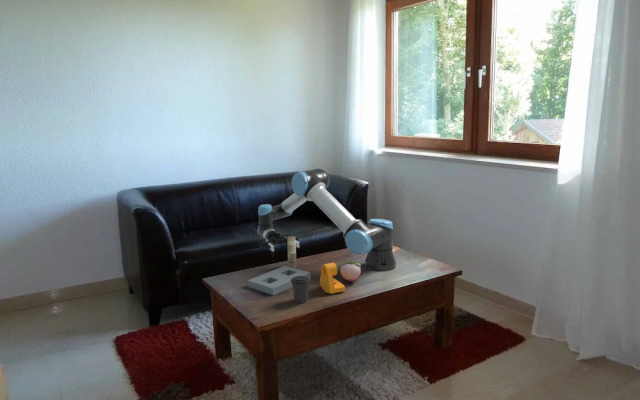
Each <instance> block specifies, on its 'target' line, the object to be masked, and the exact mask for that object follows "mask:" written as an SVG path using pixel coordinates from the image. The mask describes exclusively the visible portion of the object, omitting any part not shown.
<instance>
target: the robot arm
mask: <svg viewBox="0 0 640 400" xmlns="http://www.w3.org/2000/svg"><path fill="white" fill-rule="evenodd" d="M291 178H292V179H291V189H292V190H293V193H292V194H291V195H290V196H288V198H286V199H284V200H283V201H282V202H281V203H280V204H278V205H275V206H274V205H273V206H272V205H271V204H267V203H266V204H261V205H259V206H258V208H257V209H258V211H257V214H258V228H257V231H256V232H257V234H258V236H259V237H260V238H261V239H262V242H261V249H265V250H267V251H268V250H270V251H271V252H273V253H274V252H275V246H276V245H279V244H287V237H290V235H287V234H286V235H285V236H281V234H280V233H279V232H278V231H276V230H275V229H274V227H273V221H275V220H278V219H282V218H287V217H289V216H291V215H293V212H294V211H295V210H296V209H297V208H299V207H300V206H301V205H303V204H305V203H306V202H307V201H309V202H313V203H314V204H315V205H316V206H317V207H318V208H319V209H320V210H321V211H322V212H323V213H324V214H325V215H326V216H327V217H328V218H329V219H330V221H332V222H333V223H334V224H335V226H337V227H338V228H339V230H341V231H342V233H343V238H344V243H345V246H346V248H347V249H348V250H349V251H350V252H351V253H353V254H355V255H362V254H366V258H365V260H364V266H365V267H366V268H367V269H369V270H373V271H390V270H393V269H395V268H396V267H397V260H396V258H395V254H394V250H393V248H394V247H393V243H394V241H393V237H394V236H393V235H394V227H393V225H394V224H393V222H392V221H391V220H389V219H388V220H387V219H382V218H370V219H369V220H368V222H367V224H366V223H365V222H364V221H363V220H362V219H356V218H355V217H354V216H353V214H352V213H350V211H348V210H347V208H345V207H344V206H343V204H341V203H340V202H339V201H338V200H337V198H336V197H334V195H332V193H330V192H329V191H328V190H327V188H329V185H330V183H331V181H330V180H331V179H330V175H329V173H328V172H327V171H325V170H324V169H321V168H314V169H307V170H301V171H299V172H296V173H295V174H294V175H293V176H292V177H291ZM294 237H295V239H296V248H297V249H298V248H299V249H300V237H296V236H294Z"/></svg>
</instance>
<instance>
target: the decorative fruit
mask: <svg viewBox="0 0 640 400" xmlns="http://www.w3.org/2000/svg"><path fill="white" fill-rule="evenodd" d="M339 265H341V266H340V275H341V277H342V278H343V280H345V281H348V282H350V283H351V282H353V281H355V280H357V279H358V278H359V277H360V276H361V273H362V272H361V271H362V270H361V267H362V265H361V264H360V263H358V262H356V261H355V262H353V261H352V260H351V259H350V261H349V262H348V261H344V262H341V263H340V264H339Z"/></svg>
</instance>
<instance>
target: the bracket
mask: <svg viewBox="0 0 640 400" xmlns="http://www.w3.org/2000/svg"><path fill="white" fill-rule="evenodd" d="M320 272H321V273H320V279H319V286H320V287H321V289H322V290H323V291H324V292H325V293H327V294H332V295H333V294H336V293H341V292H345V291H346V286H345V284H343V283H342V282H340V281H339V280H338V279H336V278H334V276H336V275H338V267H337V264H336V263H335V262H329V263H323V264H322V266H321V271H320Z"/></svg>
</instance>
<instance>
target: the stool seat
mask: <svg viewBox="0 0 640 400" xmlns="http://www.w3.org/2000/svg"><path fill="white" fill-rule="evenodd" d="M296 276H306V277H309V278H310V280H311V278H312V276H311V272H309V271H306V270H302V269H299V268H297V267H295V268H292V267H289V266H288V265H283V266H280V267H279V268H275V269H273V270H271V271H268V272H265V273H263V274H260V275H257V276H255V277H253V278H250V279H247V287H248V288H250V289H254V290H257V291H259V292H262V293H266V294H267V295H271V296H275V295H277V294H280V293H282V292H285V291H287V290H289V289H291V288H293V287H292V282H291V279H292V278H293V277H296Z"/></svg>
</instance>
